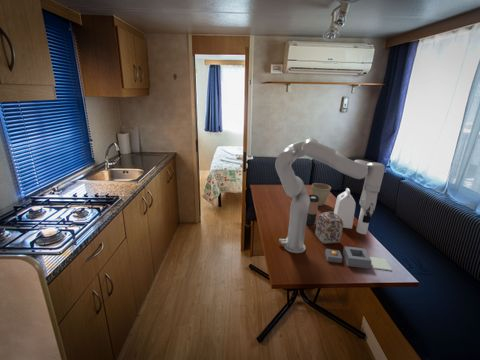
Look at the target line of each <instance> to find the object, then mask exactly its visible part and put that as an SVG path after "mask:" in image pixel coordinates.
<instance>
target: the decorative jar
mask: <svg viewBox="0 0 480 360" xmlns="http://www.w3.org/2000/svg"><path fill="white" fill-rule="evenodd" d="M315 224H316V226H315V231H314V235H315V236H316V238H317V239H318V240H319V241H320V242H321V243H322V244H325V245H326V244H339V243H341V239H342V235H343V234H342V233H343V228H344V227H343V221H342V219H341V217H340V216H339V215H337V214H335V213H334V211H325V212H322V213H320V214H319V215H318V216H317V218H316V223H315Z"/></svg>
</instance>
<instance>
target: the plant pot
mask: <svg viewBox="0 0 480 360" xmlns="http://www.w3.org/2000/svg"><path fill="white" fill-rule="evenodd" d="M331 190H332V186H330V185H328V184H327V183H326V184H325V183H321V182H320V183H318V182H314V183H312V184H311V191H312V194H311V195H316V196H318V197H319V202H318V207H319V206H321V207H322V206H324V204H325V203H326V201H327V199H328V197H329V195H330V192H331Z"/></svg>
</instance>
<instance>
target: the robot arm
mask: <svg viewBox="0 0 480 360" xmlns="http://www.w3.org/2000/svg"><path fill="white" fill-rule="evenodd" d="M305 156H306V157H308V158H311V159H313V160H315V161H317V162H320V163H322V164H324V165H327V166H328V167H330V168H332V169H334V170H336V171H338V172H339V173H342V174H343V175H346V176H348V177H350V178H354V179H356V180H362V179H364V183H363V187H362V191H361V193H360V194H361V195H360V199H359V205H360V208H361V207H362V208H363V209H364V210H365V215H364V217H363V223H369V224H370V221H371V217H372V215H373V214H374V212H375V209H376V205H377V200H378V194H379V193H380V190H381V186H382V182H383V178H384V173H385V169H386V166H385V164H383V163H380V162H375V161H374V162H370V161H367V160H363V159H355V160H352V159H350V158H348V157H346V156H345V155H343V154H342V153H340V151H338V150H337V149H335V148H332V147H330V146H328V145H326V144H323V143H320V142H319V141H318V140H317V139H315V138H312V137H309V138H307V139H304V140H301V141H298V142H295V143H292V144H289V145H288V146H286V147H284V149H283V150H281V152H280V153H278V156H277V157H276V159H275V162H274V163H275V164H274V165H275V170H276V173H277V176H278V177H279V180H280V182H281V185H282V189H283V190H284V193H285V194H286V196H288V197H290V198H291V199H292V201H291V203H290V208H289V220H288V221H289V222H288V229H287V236H286V238H279V239H278V242H279V243H280V244H281V245H283V247H284V249H285V250H286V251H288V252H290V253H293V254H302V253H304V252H305V251H306V248H307V247H306V245H305V244H304V242H305V236H306V235H305V233H306V227H307V224H306V222H307V214H308V209H309V204H310V198H309V195H310V194H309V192H308V191H307V187H306V186H305V184H304V181H303V179H301V178H300V177H299V176H297V175H296V174H295V171H294V169H293V167H292V164H293V163H295V161H296V160H298V159H300V158H302V157H305ZM368 209H369V210H368ZM367 211H369V212H368V213H367Z"/></svg>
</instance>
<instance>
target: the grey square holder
mask: <svg viewBox="0 0 480 360" xmlns="http://www.w3.org/2000/svg"><path fill="white" fill-rule="evenodd" d="M342 250H343V251H342V257H343V258H344V261H345V263H346V265H347V267H354V268H355V267H356V268H363V269H371V266H372V264H371V259H370V257H371V256H370V255H369V253H368V251H367V250H366V248H362V247H353V246H346V245H344V246H343V249H342Z"/></svg>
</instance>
